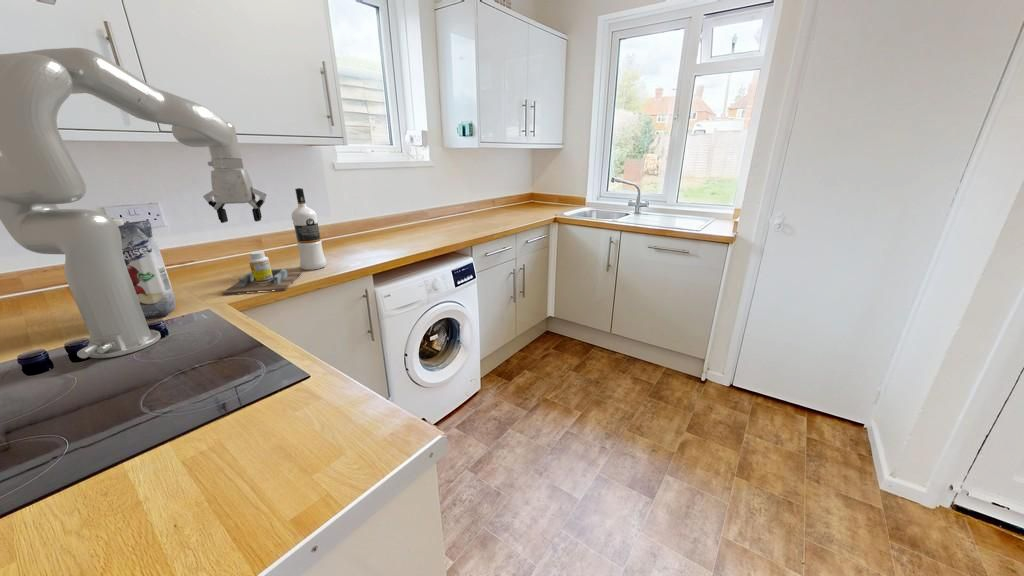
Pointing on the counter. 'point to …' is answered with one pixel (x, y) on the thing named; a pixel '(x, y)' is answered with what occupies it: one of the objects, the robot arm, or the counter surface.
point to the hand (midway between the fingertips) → (241, 221)
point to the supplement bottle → (260, 267)
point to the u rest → (278, 283)
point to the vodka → (307, 235)
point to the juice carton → (146, 268)
